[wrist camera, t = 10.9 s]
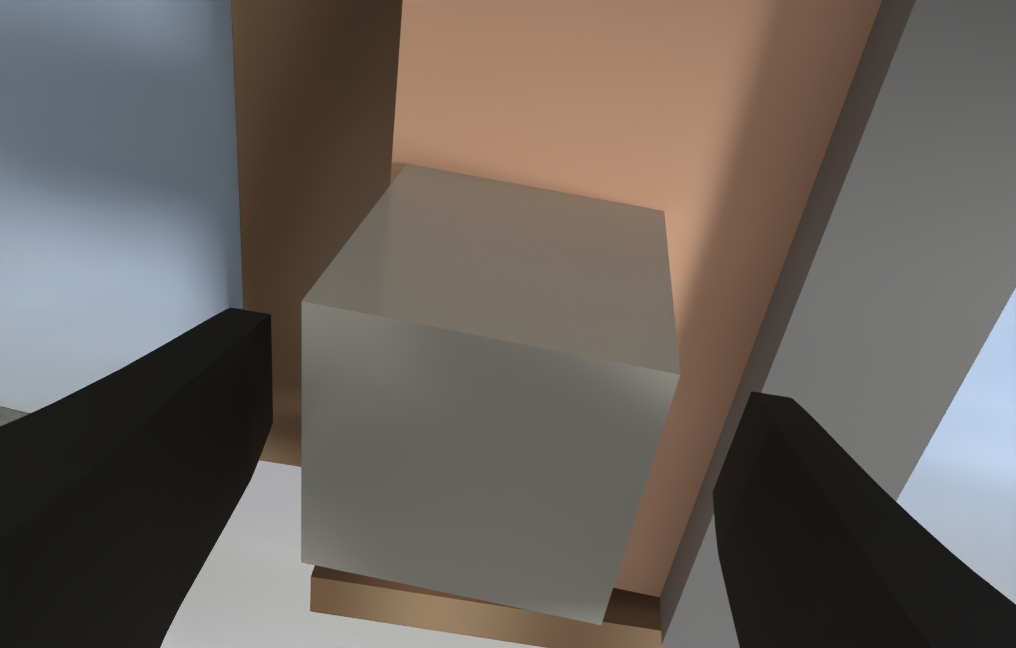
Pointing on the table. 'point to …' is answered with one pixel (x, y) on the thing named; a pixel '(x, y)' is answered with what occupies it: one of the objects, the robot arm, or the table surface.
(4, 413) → the striped white tower
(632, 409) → the pale sage cube
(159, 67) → the table surface
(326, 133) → the frame
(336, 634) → the table surface
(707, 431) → the trapdoor
